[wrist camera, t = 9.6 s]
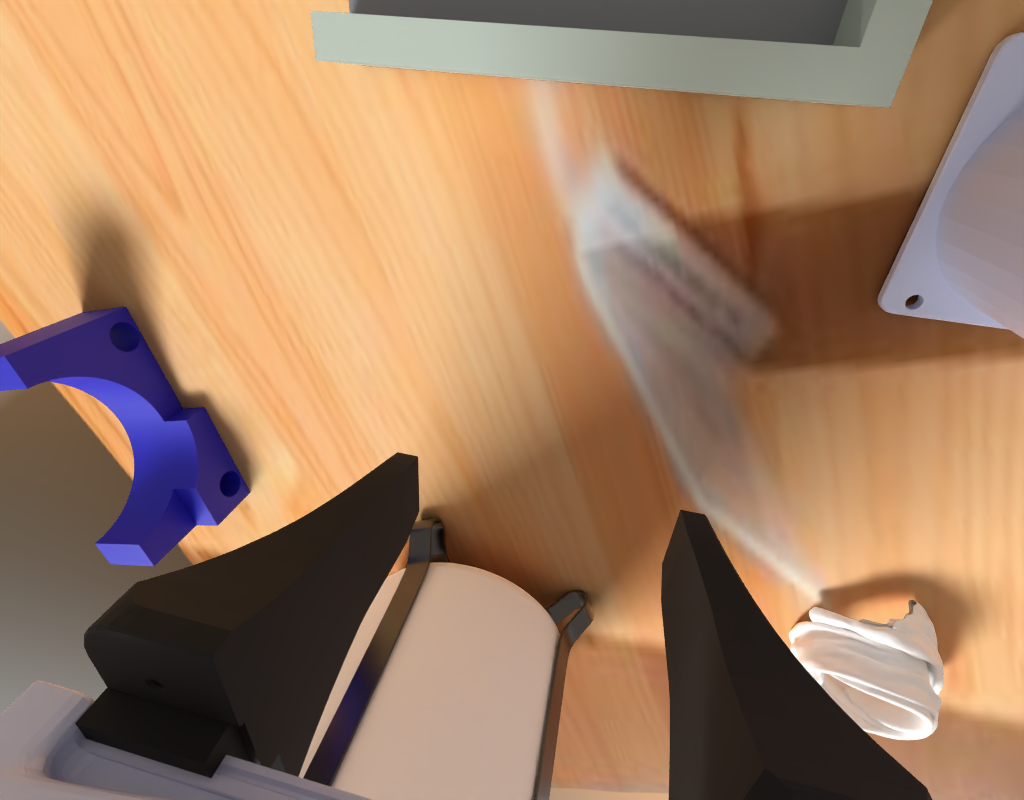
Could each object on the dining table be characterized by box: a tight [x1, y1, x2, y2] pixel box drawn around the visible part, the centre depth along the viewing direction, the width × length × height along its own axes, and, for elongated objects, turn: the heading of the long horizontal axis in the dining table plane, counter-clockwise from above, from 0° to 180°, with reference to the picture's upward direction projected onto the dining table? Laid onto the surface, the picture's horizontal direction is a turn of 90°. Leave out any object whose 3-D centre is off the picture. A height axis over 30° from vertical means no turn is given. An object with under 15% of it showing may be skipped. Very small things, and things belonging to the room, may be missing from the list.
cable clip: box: [0, 307, 250, 566], centre depth 26 cm, size 12×4×6 cm, turn 11°
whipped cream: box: [789, 600, 944, 740], centre depth 25 cm, size 8×7×5 cm
